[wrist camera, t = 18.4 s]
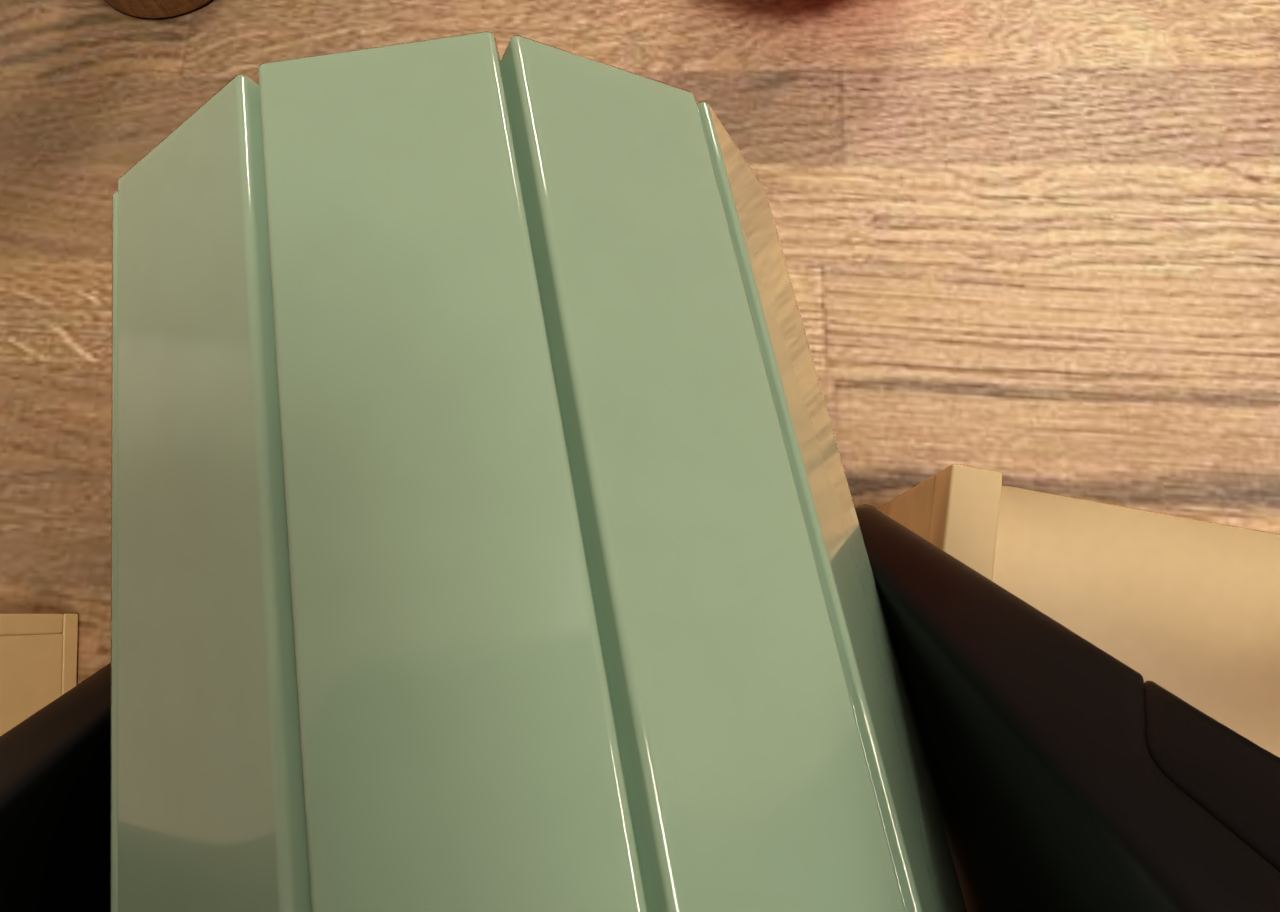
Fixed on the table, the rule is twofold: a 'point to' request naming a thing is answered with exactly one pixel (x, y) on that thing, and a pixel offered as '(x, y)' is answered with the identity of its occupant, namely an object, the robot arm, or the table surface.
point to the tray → (35, 663)
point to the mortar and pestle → (156, 7)
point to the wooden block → (1126, 585)
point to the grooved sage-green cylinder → (485, 515)
